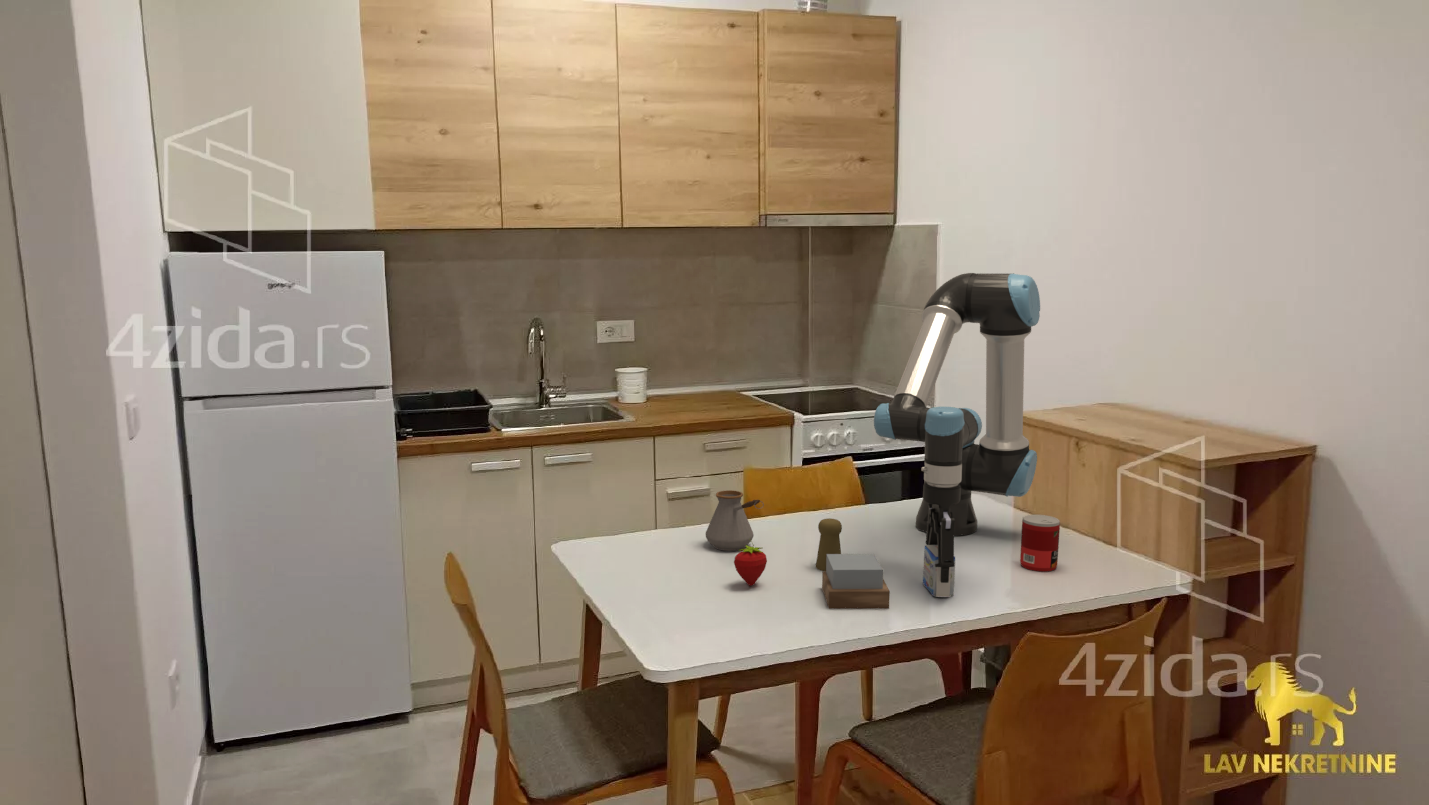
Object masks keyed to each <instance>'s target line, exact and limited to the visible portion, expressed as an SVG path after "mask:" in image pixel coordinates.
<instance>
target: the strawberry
mask: <svg viewBox="0 0 1429 805" xmlns="http://www.w3.org/2000/svg"><path fill="white" fill-rule="evenodd" d="M750 541H751V542H750V543H751V544H752V546H749V545H748V544H747V545H746V547H745V548H743V549H740V550H738V553H737V554H736V555H735V556H734V561H733V564H734V568H735V571H736V572H737V573H738V575H739V576H740V577H741V579H742V580H743V581H744V582H745V583H746V584H747V585H748V586H749V587H751V586H755V585H756V583H757V581H758V580H759V578H760V577H761V576H762V574H763V573H764V571H765V569H766V566H767V563H768V558H767V555H766V554H765V553H764V551H762V549H763V547H761V546H760V547H756V546H755V544H754V543H753V541H752V540H750ZM754 546H755V547H754ZM760 549H761V550H760ZM739 551H740V552H739Z"/></svg>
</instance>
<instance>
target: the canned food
mask: <svg viewBox="0 0 1429 805" xmlns="http://www.w3.org/2000/svg"><path fill="white" fill-rule="evenodd" d="M1021 522H1022V523H1021V534H1020V535H1021V538H1020V558H1019V561H1020V565H1021V567H1022V568H1024V569H1027V570H1029V571H1032V572H1033V571H1034V572H1041V573H1043V572H1044V573H1045V572H1053V571H1055V570H1056V569H1057V567H1058V560H1059V559H1058V557H1059V547H1060V546H1059V545H1060V544H1059V543H1060V530H1061V527H1060V526H1061V520H1060V519H1058V517H1057V518H1056V517H1055V516H1051V515H1046V514H1027V515H1024V516H1022V521H1021ZM1052 570H1053V571H1052Z"/></svg>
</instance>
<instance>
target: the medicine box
mask: <svg viewBox="0 0 1429 805" xmlns="http://www.w3.org/2000/svg"><path fill="white" fill-rule="evenodd" d="M923 552H924V553H923V554H924V555H923V567H922V568H923V570H922V584H923V586H924V587H925V588H926V590H927V591H928V592H929V593H930V594H931V595H932V597H936V575H937V567H935V564H938V545H926V544H925V545H924V551H923ZM955 573H956V556H955V555H954V567H951V578H950V597H953V596H954V594H955V575H956V574H955ZM936 598H937V597H936Z"/></svg>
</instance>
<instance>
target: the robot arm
mask: <svg viewBox="0 0 1429 805" xmlns="http://www.w3.org/2000/svg"><path fill="white" fill-rule="evenodd" d="M1038 288H1039V287H1038V285H1037V282H1036V281H1035V279H1033V277H1031V276H1030V275H1028V274H1018V273H981V272H980V273H975V272H967V273H963V274H962V273H961V274H959V275H956V276H954V277H952V278H950V279H948V281H945V283H943V284H942V285H941V286H939V288H937V289H936V290H935V292H934V293H933V294H932V295H931V296H930V297H929V299H928V301H927V302H926V303H925V306H924V308H923V310H922V313H921V321H922V325H921V326H920V330H919V332H918V335H917V337H916V340H915V343H914V345H913V347H912V349H911V353H910V355H909V358H908V361H907V363H906V365H905V369H904V371H903V373H902V376H901V378H900V381H899V384H898V386H897V387H896V391H895V394H894V396H893V398H892V401H891V402H890V403H889V402H887V403H884V402H883V403H880V404H879V405H878V406H877V408H876V409H875V411H874V416H873V426H874V430H875V433H876V435H877V436H879V437H882V438H886V439H891V440H902V441H903V440H905V441H910V442H911V441H912V442H920V443H921V442H923V443H924V460H923V461H924V466H922V467H920V468H921V472H923V480H924V483H922V484H923V487H922V488H923V489H922V490H923V491H922V500H921V503H920V505H919V509H918V511H917V514H916V516H915V527H916V528H917V529H918V530H919V531H922V532H925V533H926V538H925V545H938V564H935V567H937V575H936V598H950V597H951V596H950V578H951V567H954V556H955V537H958V536H960V537H961V536H967V535H972V534H974V533H976V532H977V530H978V519H977V516H976V513H975V509H974V508H975V507H974V504H973V502H972V492H977V493H983V494H984V493H985V494H991V495H992V494H993V495H1000V496H1005V497H1016V498H1017V497H1018V498H1020V497H1024V496H1026V494H1028V492H1029V491H1030V488H1031V486H1032V484H1033V481H1034V477H1035V474H1036V469H1037V462H1038V454H1037V452H1036V451H1035V450H1033V449H1030V440H1029V439H1028V438H1027V437H1026V436H1025V435H1024V433H1023V432H1024V430H1023V429H1024V390H1025V389H1024V384H1025V383H1024V382H1025V376H1024V374H1025V371H1024V370H1025V339H1026V338H1027V337H1028V336H1029V335H1030V334H1032V327H1033V326H1036V325H1038V323H1039V321H1040V317H1041V316H1040V312H1041V298H1040V293H1039V292H1040V291H1039V289H1038ZM965 323H966V324H967V323H972V324H979V333H980V334H981V336H983V337H984V338H985V341H986V343H985V344H986V346H985V349H986V350H985V351H986V353H985V355H986V358H985V361H986V362H985V363H986V364H985V365H986V366H985V367H986V368H985V369H986V371H985V375H986V376H985V378H986V381H985V382H986V384H985V434H984V435H983V436H982V437H981V438H980V439H979V443H978V444H977V443H975V440H976V439H977V438H979V436H980V434H981V432H982V430H983V428H982V427H983V423H982V422H983V421H982V419H981V417H980V415H979V413H977V412H976V411H975V410H973V409H972V408H968V407H954V406H936V407H934V406H933V407H929V406H928V403H929V400H930V398H931V396H932V393H933V391H934V387H935V385H936V383H937V380H938V377H939V374H940V372H941V370H942V367H943V364H944V361H945V359H946V356H947V354H948V350H949V348H950V346H951V344H952V340H953V338H954V336H955V334H957V333H958V332H959V331H960V330H961V329H962V326H963V324H965Z"/></svg>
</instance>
